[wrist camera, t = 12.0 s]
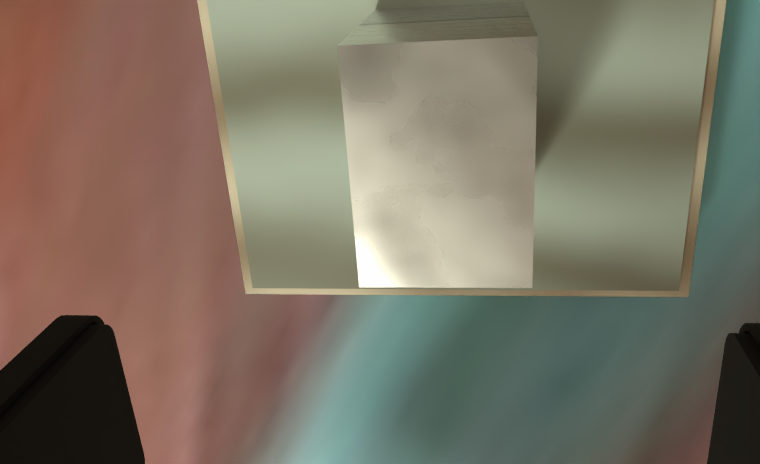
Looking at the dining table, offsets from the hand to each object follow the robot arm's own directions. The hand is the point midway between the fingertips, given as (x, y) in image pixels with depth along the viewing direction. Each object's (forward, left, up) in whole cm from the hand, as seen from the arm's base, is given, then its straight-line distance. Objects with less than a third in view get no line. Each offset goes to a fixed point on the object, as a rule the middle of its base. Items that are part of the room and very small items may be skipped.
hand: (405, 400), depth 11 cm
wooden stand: (0, 0, -20) cm, 20 cm away
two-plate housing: (0, 0, -16) cm, 16 cm away
